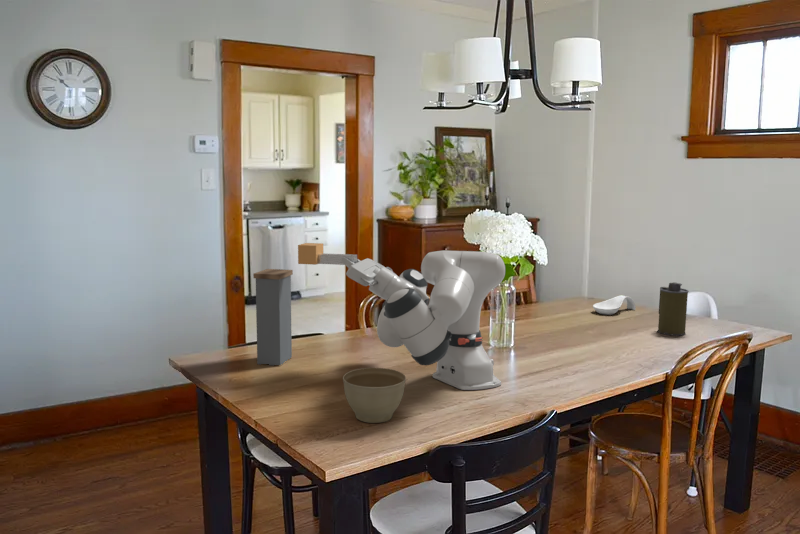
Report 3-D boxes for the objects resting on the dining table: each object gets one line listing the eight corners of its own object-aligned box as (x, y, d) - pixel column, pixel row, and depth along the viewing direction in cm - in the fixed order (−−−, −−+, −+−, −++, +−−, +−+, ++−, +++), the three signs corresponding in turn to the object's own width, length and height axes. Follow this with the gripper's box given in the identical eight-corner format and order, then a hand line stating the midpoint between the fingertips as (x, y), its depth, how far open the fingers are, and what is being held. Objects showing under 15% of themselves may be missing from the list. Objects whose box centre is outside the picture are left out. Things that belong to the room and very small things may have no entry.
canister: (691, 333, 274) (694, 283, 271) (675, 337, 268) (678, 286, 265) (666, 328, 282) (670, 279, 280) (651, 331, 277) (654, 282, 274)
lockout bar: (358, 263, 222) (358, 244, 221) (352, 266, 215) (352, 246, 215) (306, 261, 226) (305, 242, 225) (298, 263, 219) (297, 245, 219)
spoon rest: (608, 317, 302) (609, 301, 301) (586, 313, 312) (587, 297, 311) (641, 311, 316) (642, 296, 315) (620, 307, 325) (621, 292, 324)
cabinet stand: (293, 357, 234) (292, 269, 230) (281, 366, 223) (279, 274, 219) (268, 355, 236) (267, 268, 231) (255, 364, 225) (253, 273, 221)
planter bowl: (332, 423, 174) (332, 381, 173) (358, 403, 189) (358, 365, 188) (391, 432, 169) (391, 389, 167) (413, 411, 184) (414, 371, 182)
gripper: (367, 295, 208) (329, 270, 210) (383, 284, 228) (349, 262, 230) (377, 277, 207) (339, 253, 209) (393, 268, 227) (358, 246, 228)
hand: (344, 258), depth 219 cm, fingers closed on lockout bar, 3 cm apart
